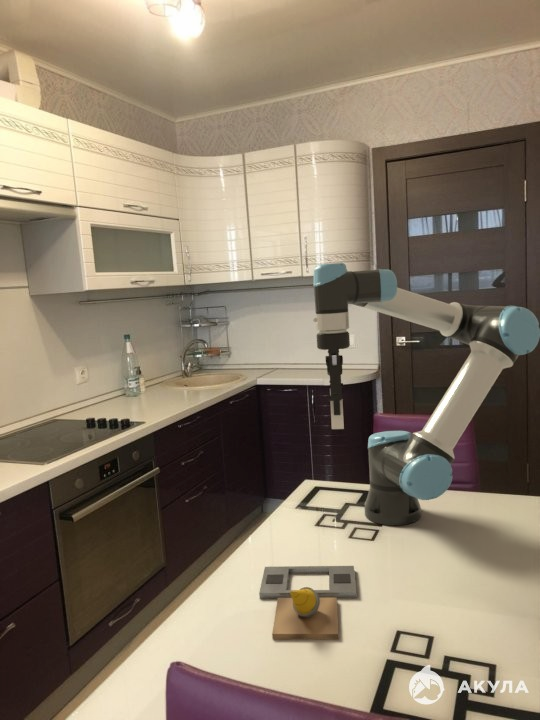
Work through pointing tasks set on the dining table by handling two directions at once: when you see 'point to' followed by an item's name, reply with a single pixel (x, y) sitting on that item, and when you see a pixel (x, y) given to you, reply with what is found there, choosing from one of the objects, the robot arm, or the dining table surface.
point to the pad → (306, 621)
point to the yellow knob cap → (305, 601)
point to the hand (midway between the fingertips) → (337, 421)
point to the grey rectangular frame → (338, 575)
